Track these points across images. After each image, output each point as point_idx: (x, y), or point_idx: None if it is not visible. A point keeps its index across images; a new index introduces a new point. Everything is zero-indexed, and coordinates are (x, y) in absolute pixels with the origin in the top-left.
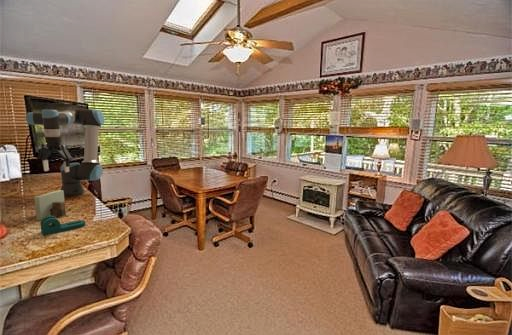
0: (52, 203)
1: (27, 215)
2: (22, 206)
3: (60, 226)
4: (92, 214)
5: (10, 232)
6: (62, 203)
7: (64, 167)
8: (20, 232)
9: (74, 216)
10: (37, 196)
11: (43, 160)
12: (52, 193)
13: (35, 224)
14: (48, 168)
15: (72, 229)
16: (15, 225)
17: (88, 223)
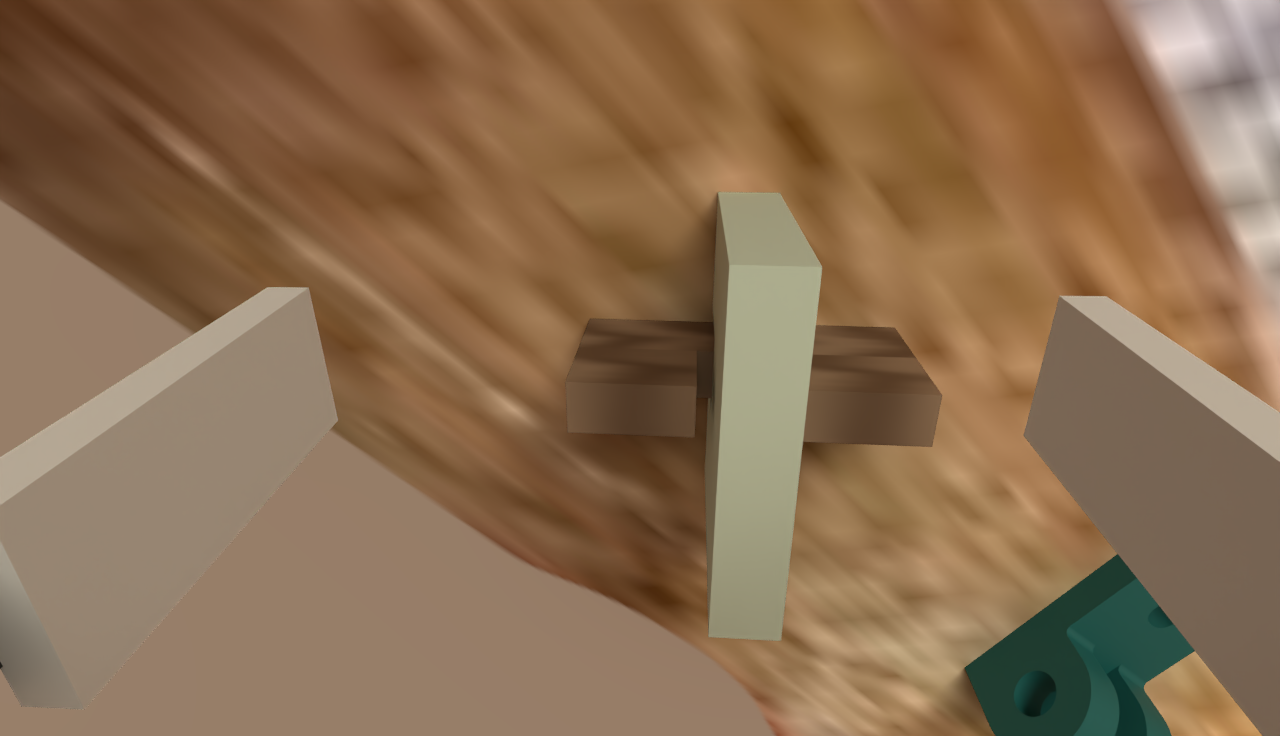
0: (805, 437)
1: (512, 386)
2: (136, 130)
3: (1150, 700)
4: (1191, 253)
5: (748, 689)
6: (933, 421)
7: (1122, 545)
8: (817, 684)
9: (1013, 343)
10: (728, 614)
11: (17, 678)
12: (799, 466)
13: (793, 558)
14: (272, 322)
15: None
16: (655, 590)
17: None
